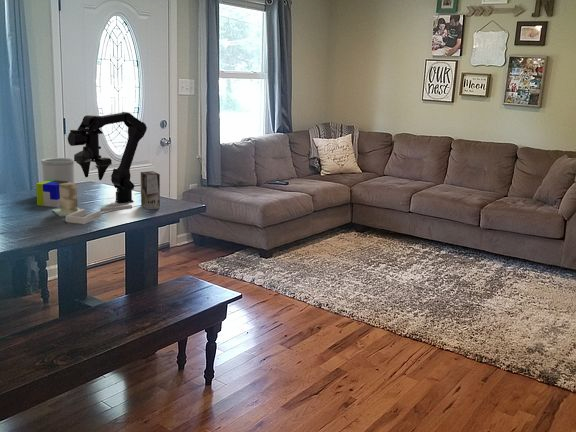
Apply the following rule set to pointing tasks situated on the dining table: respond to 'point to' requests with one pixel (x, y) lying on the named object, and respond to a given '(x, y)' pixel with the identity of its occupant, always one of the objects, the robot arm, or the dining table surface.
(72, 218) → the channel
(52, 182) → the puzzle toy
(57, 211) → the mat
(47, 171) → the utensil holder
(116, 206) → the rod
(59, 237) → the dining table surface
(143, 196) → the coffee box
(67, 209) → the block
